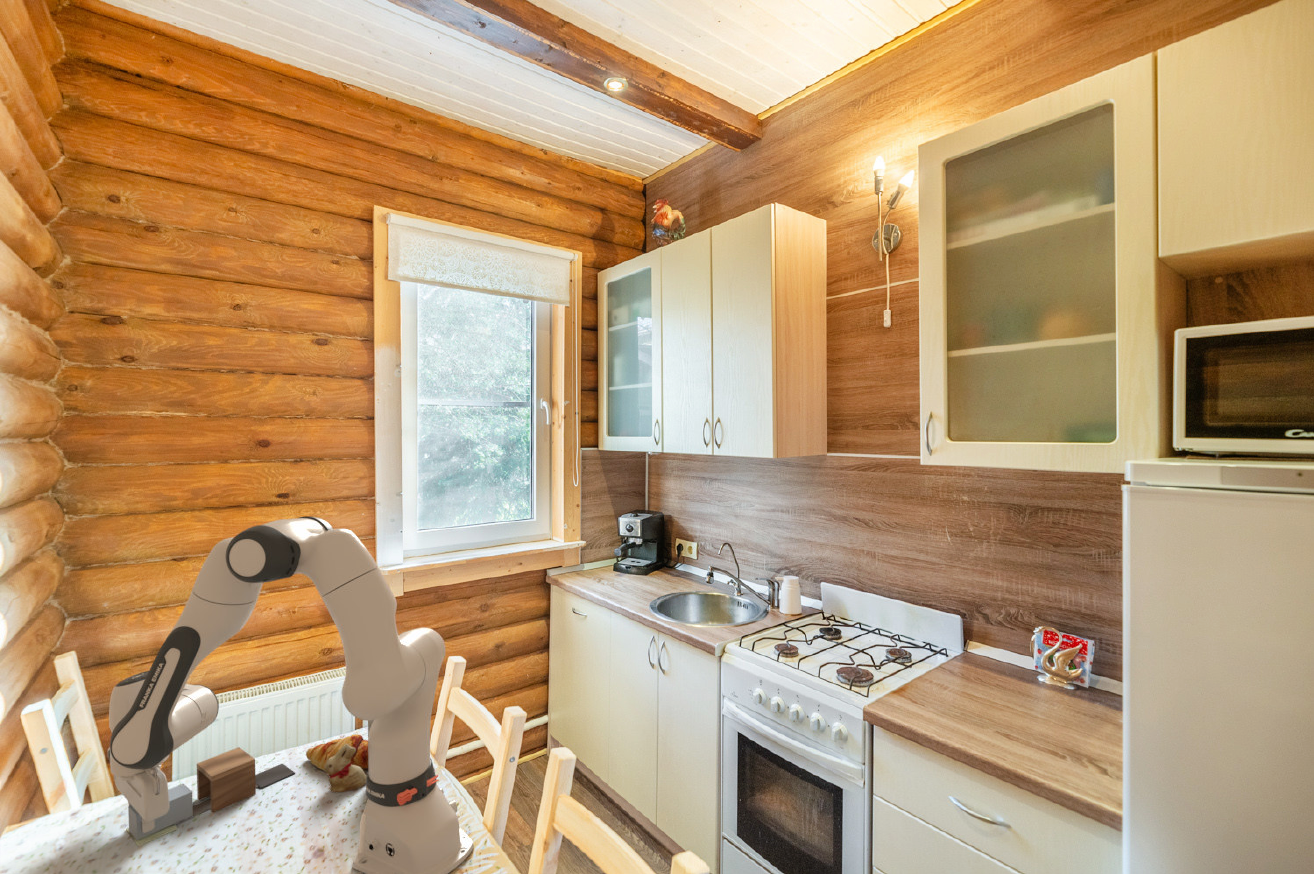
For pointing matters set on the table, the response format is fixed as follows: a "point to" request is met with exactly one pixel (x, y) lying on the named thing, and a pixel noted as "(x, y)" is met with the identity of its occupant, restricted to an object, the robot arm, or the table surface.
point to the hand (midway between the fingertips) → (142, 823)
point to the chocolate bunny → (344, 771)
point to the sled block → (177, 812)
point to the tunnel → (225, 784)
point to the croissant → (331, 748)
